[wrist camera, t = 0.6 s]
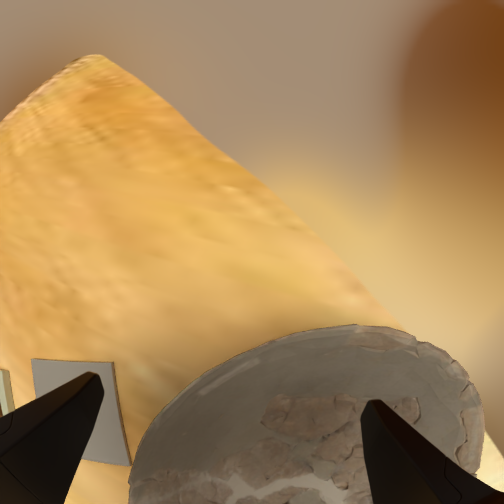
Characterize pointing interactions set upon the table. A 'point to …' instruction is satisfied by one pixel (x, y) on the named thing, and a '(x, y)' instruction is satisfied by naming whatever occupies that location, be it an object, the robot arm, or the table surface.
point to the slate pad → (109, 418)
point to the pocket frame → (6, 393)
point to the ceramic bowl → (303, 420)
